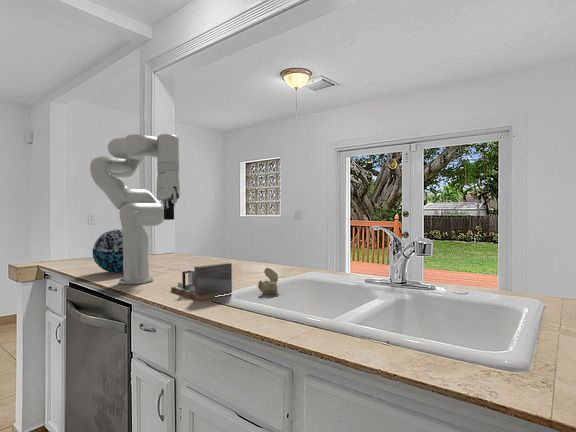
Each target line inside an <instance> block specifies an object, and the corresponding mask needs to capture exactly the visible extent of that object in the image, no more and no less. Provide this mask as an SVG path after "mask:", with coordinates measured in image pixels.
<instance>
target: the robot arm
mask: <svg viewBox="0 0 576 432" xmlns="http://www.w3.org/2000/svg"><path fill="white" fill-rule="evenodd" d="M179 142H180V140H179V137H178V136H177V135H175V134H172V133H162V134H158V136H154V135H153V136H152V135H145V134H136V133H135V134H127V135H126V136H124V137H116V138H113V139H111V140H110V141H109V142H108V144H107V150H108V153H109V154H110V155H111V156H97V157H95V158H93V159H92V160H91V161H90V164H89V172H90V175H91V178H92V180H93V182H94V183H95V184H96V186H97V187H98V188H99V189H100V190H101V191H102V192H103V193H104V194H105V195H106V196H107V198H108V199H109V201H110V202H111V203H112V205H113V206H114V207H115V208H116V209H117V210H119V212H118V213H119V220H120V225H121V230H122V234H123V272H122V273H123V276H122V277H123V278H120V279H119V280H118V282H119V284H121V285H140V284H146V283H150V282H151V283H152V281H154V277H153V276H150V262H149V261H150V259H149V258H150V253H149V249H150V247H149V236H148V233H147V231H146V229H145V228H144V227H155V226H159V225H161V224H163V222H164V221H169V220H172V221H173V220H175V208H176V207H175V206H176V203H178V201H177V200H179V199H180V195H181V194H180V193H181V191H180V189H181V188H180V187H181V186H180V177H179V174H180V155H179V154H180V150H179V149H180V148H179V147H180V146H179ZM145 157H150V158H151V157H152V158H156V160H157V161H156V162H157V163H156V167H157V169H156V171H157V178H156V192H155V193H156V194H155V195H156V197H155V196H154V195H153V194H152V193H151V192H150V191H149V190H148V189H147V190H146V189H143V188H134V187H133V188H132V187H128V186H127V185H126V184H125V183H124V182H123V180H121V179H119V178H126V179H127V178H131V177H132V176H133V175H134V174H135V172H136V171H137V169H138V167H140V165H141V163H142V161H143V160H144V158H145ZM159 201H160V202H161V203H160V202H159Z"/></svg>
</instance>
